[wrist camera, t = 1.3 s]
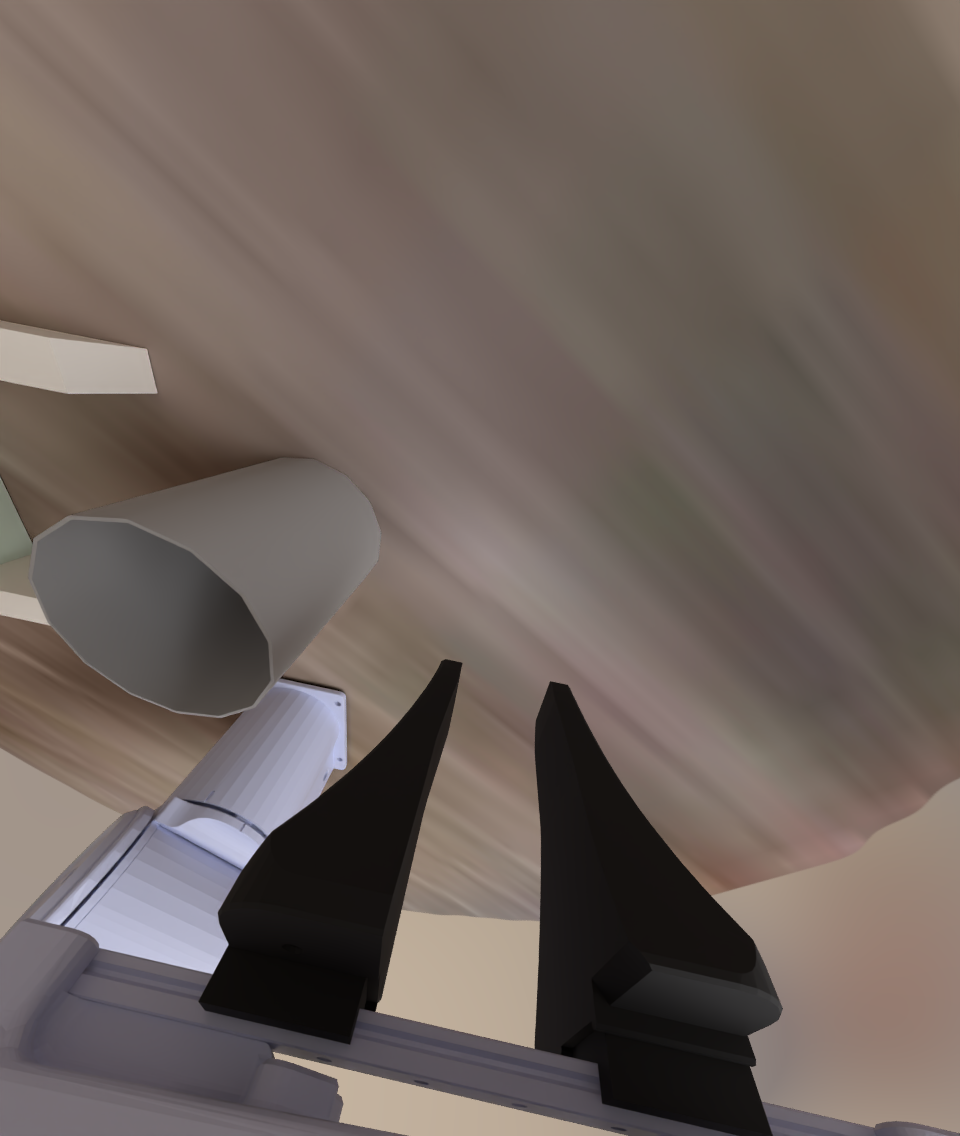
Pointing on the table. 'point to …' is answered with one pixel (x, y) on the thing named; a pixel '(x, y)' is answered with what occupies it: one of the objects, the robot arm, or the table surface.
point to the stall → (65, 369)
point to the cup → (207, 581)
